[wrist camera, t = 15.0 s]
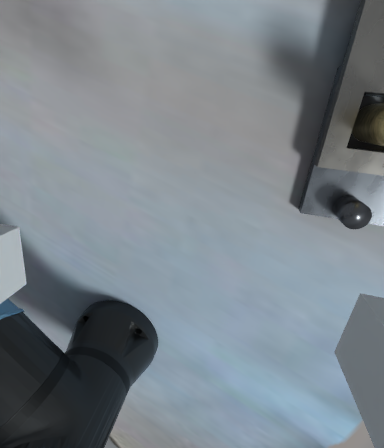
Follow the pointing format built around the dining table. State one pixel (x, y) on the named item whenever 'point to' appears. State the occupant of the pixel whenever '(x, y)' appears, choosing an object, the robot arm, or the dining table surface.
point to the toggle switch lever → (370, 124)
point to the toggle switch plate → (341, 131)
